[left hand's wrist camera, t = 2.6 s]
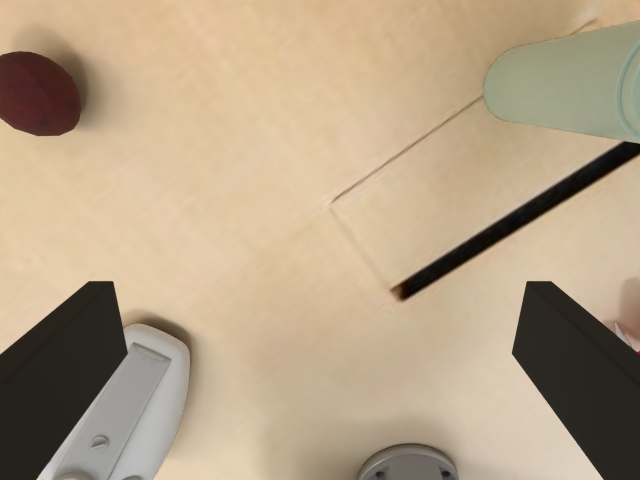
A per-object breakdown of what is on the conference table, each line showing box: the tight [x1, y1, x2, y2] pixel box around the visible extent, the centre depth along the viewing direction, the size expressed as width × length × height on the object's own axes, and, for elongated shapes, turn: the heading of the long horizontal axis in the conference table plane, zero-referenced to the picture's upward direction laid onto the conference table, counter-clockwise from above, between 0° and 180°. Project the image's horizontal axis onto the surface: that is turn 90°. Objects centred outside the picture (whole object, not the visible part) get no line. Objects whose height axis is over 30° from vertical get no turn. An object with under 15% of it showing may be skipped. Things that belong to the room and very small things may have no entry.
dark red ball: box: [0, 51, 81, 136], centre depth 37 cm, size 7×8×7 cm
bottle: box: [483, 20, 640, 143], centre depth 28 cm, size 7×7×26 cm
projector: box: [39, 323, 190, 480], centre depth 48 cm, size 22×23×15 cm
